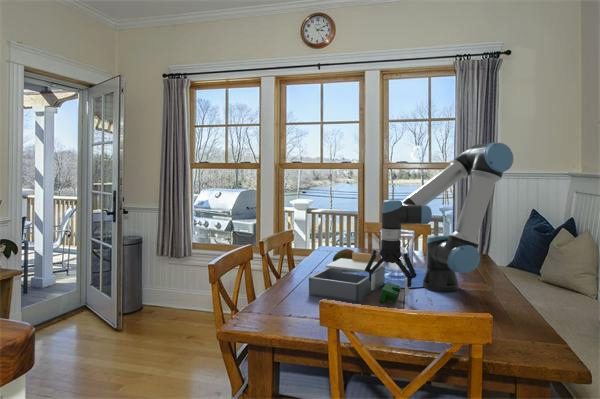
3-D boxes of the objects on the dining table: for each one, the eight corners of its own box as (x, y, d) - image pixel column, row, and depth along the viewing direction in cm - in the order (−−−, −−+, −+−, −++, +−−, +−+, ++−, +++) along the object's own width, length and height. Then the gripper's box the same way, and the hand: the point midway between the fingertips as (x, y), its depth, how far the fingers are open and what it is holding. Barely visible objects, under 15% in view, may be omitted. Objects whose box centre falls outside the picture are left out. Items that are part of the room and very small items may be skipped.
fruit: (360, 268, 208) (360, 250, 208) (339, 271, 204) (339, 252, 203) (349, 264, 219) (349, 246, 219) (329, 266, 215) (329, 248, 214)
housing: (384, 282, 182) (384, 266, 181) (358, 303, 153) (358, 284, 153) (341, 276, 193) (340, 261, 192) (308, 295, 164) (308, 277, 163)
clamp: (392, 314, 153) (396, 297, 148) (377, 309, 155) (380, 292, 150) (399, 295, 162) (403, 278, 158) (385, 290, 164) (388, 273, 160)
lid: (384, 265, 181) (384, 255, 181) (372, 273, 166) (372, 262, 166) (340, 260, 192) (340, 251, 192) (325, 267, 177) (325, 257, 177)
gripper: (357, 237, 158) (356, 289, 159) (421, 243, 145) (419, 299, 147) (364, 235, 164) (363, 285, 165) (425, 240, 152) (423, 294, 153)
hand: (389, 292), depth 156 cm, fingers open, 13 cm apart
